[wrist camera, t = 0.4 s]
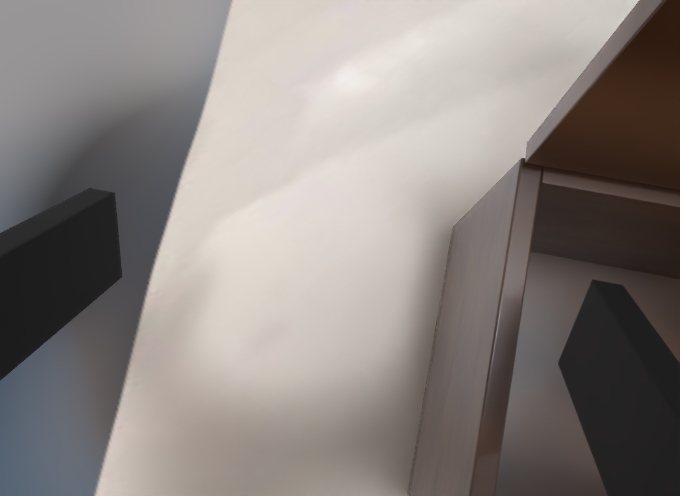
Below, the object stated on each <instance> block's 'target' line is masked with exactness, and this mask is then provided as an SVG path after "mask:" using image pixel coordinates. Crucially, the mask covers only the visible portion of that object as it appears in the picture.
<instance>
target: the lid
mask: <svg viewBox="0 0 680 496" xmlns="http://www.w3.org/2000/svg"><path fill="white" fill-rule="evenodd" d="M525 162H526V163H530V164H535V165H541V166H547V167H553V168H558V169H564V170H570V171H576V172H582V173H587V174H593V175H599V176H605V177H610V178H616V179H622V180H628V181H633V182H639V183H645V184H651V185H657V186H662V187H668V188H674V189H680V0H639V2H638V3H637V4H636V5H635V7H634V8H633V9H632V10H631V12H630V13H629V14H628V16H627V17H626V18H625V19H624V21H623V22H622V23H621V24H620V26H619V27H618V28H617V29H616V31H615V32H614V33H613V35H612V36H611V37H610V38H609V40H608V41H607V42H606V43H605V45H604V46H603V47H602V48H601V50H600V51H599V52H598V54H597V55H596V56H595V57H594V59H593V60H592V61H591V62H590V64H589V65H588V66H587V67H586V69H585V70H584V71H583V73H582V74H581V75H580V76H579V78H578V79H577V80H576V81H575V83H574V84H573V85H572V86H571V88H570V89H569V90H568V92H567V93H566V94H565V95H564V97H563V98H562V99H561V100H560V102H559V103H558V104H557V105H556V107H555V108H554V109H553V111H552V112H551V113H550V114H549V116H548V117H547V118H546V119H545V121H544V122H543V123H542V124H541V126H540V127H539V128H538V130H537V131H536V132H535V133H534V135H533V136H532V137H531V138H530V140H529V141H528V142H527V150H526V158H525Z"/></svg>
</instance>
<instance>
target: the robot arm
mask: <svg viewBox="0 0 680 496" xmlns="http://www.w3.org/2000/svg"><path fill="white" fill-rule="evenodd" d="M121 277H122V269H121V257H120V246H119V235H118V223H117V213H116V202H115V193H113V192H108V191H103V190H97V189H92V188H89V189H87V190H85V191H83V192H81V193H79V194H77V195H75V196H73V197H71V198H69V199H67V200H65V201H63V202H61V203H59V204H57V205H55V206H53V207H51V208H50V209H47V210H45V211H43V212H41V213H39V214H37V215H35V216H33V217H31V218H29V219H27V220H25V221H24V222H21V223H19V224H18V225H16V226H13V227H11V228H9V229H8V230H6V231H4V232H2V233H0V380H1V379H2V378H4V377H5V376H6V375H7V374H8V373H10V372H11V371H12V370H13V369H14V368H15V367H17V366H18V365H19V364H20V363H21V362H23V361H24V360H25V359H26V358H27V357H28V356H30V355H31V354H32V353H33V352H34V351H36V350H37V349H38V348H39V347H40V346H41V345H42V344H43V343H45V342H46V341H47V340H48V339H49V338H51V337H52V336H53V335H54V334H56V333H57V332H58V331H59V330H60V329H61V328H63V327H64V326H65V325H66V324H67V323H68V322H70V321H71V320H72V319H73V318H74V317H76V316H77V315H78V314H79V313H80V312H81V311H83V310H84V309H85V308H86V307H87V306H89V304H91V303H92V302H93V301H94V300H95V299H97V298H98V297H99V296H100V295H101V294H103V293H104V292H105V291H106V290H107V289H109V288H110V287H111V286H112V285H113V284H114V283H115V282H117V281H118V280H119V279H120V278H121ZM558 365H559V368H560V370H561V373H562V376H563V378H564V381H565V384H566V386H567V389H568V391H569V394H570V397H571V399H572V402H573V405H574V407H575V410H576V413H577V415H578V418H579V421H580V423H581V426H582V429H583V431H584V434H585V437H586V439H587V442H588V445H589V447H590V450H591V453H592V455H593V458H594V461H595V463H596V466H597V469H598V471H599V474H600V477H601V479H602V482H603V485H604V487H605V490H606V492H607V495H608V496H680V363H679V361H678V360H677V358H676V357H675V356H674V354H673V353H672V352H671V350H670V349H669V347H668V346H667V345H666V343H665V342H664V341H663V339H662V338H661V336H660V335H659V334H658V332H657V331H656V330H655V328H654V327H653V326H652V324H651V323H650V321H649V320H648V319H647V317H646V316H645V315H644V313H643V312H642V310H641V309H640V308H639V306H638V305H637V304H636V302H635V301H634V299H633V298H632V297H631V295H630V294H629V293H628V291H627V290H626V288H625V287H624V286H623V285H620V284H615V283H609V282H604V281H598V280H593V279H592V281H591V284H590V286H589V289H588V291H587V293H586V296H585V298H584V301H583V303H582V306H581V308H580V310H579V313H578V315H577V318H576V320H575V323H574V325H573V328H572V330H571V332H570V335H569V337H568V340H567V342H566V345H565V347H564V349H563V352H562V354H561V357H560V359H559V362H558Z"/></svg>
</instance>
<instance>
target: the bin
mask: <svg viewBox="0 0 680 496" xmlns="http://www.w3.org/2000/svg"><path fill="white" fill-rule="evenodd" d="M592 279H593V280H598V281H604V282H609V283H615V284H620V285H623V286H624V287H625V288H626V290H627V291H628V293H629V294H630V295H631V297H632V298H633V299H634V301H635V302H636V304H637V305H638V306H639V308H640V309H641V310H642V312H643V313H644V315H645V316H646V317H647V319H648V320H649V321H650V323H651V324H652V326H653V327H654V328H655V330H656V331H657V332H658V334H659V335H660V336H661V338H662V339H663V341H664V342H665V343H666V345H667V346H668V347H669V349H670V350H671V352H672V353H673V354H674V356H675V357H676V358H677V360H678V361H679V363H680V189H674V188H668V187H662V186H657V185H651V184H645V183H639V182H633V181H628V180H622V179H616V178H610V177H605V176H599V175H593V174H587V173H582V172H576V171H570V170H564V169H558V168H553V167H547V166H541V165H535V164H530V163H526V162H525V158H521V159H520V160H519V161H518V162H517V163H516V164H515V165H514V166H513V167H512V168H511V169H510V170H509V171H508V172H507V173H506V174H505V175H504V176H503V177H502V178H501V179H500V180H499V181H498V182H497V183H496V184H495V185H494V186H493V187H492V188H491V189H490V190H489V191H488V193H487V194H486V195H485V196H484V197H483V198H482V199H481V200H480V201H479V202H478V203H477V204H476V205H475V206H474V207H473V208H472V209H471V210H470V211H469V212H468V213H467V214H466V215H465V216H464V217H463V218H462V219H461V220H460V221H459V222H458V223H457V224H456V225H455V226H454V227H453V231H452V236H451V242H450V248H449V254H448V260H447V266H446V272H445V278H444V283H443V289H442V295H441V301H440V307H439V313H438V319H437V325H436V330H435V336H434V342H433V348H432V354H431V360H430V366H429V372H428V377H427V383H426V389H425V395H424V401H423V407H422V413H421V419H420V424H419V430H418V436H417V442H416V448H415V454H414V460H413V466H412V471H411V477H410V483H409V489H408V495H409V496H608V495H607V492H606V490H605V487H604V485H603V482H602V479H601V477H600V474H599V471H598V469H597V466H596V463H595V461H594V458H593V455H592V453H591V450H590V447H589V445H588V442H587V439H586V437H585V434H584V431H583V429H582V426H581V423H580V421H579V418H578V415H577V413H576V410H575V407H574V405H573V402H572V399H571V397H570V394H569V391H568V389H567V386H566V384H565V381H564V378H563V376H562V373H561V370H560V368H559V365H558V362H559V359H560V357H561V354H562V352H563V349H564V347H565V345H566V342H567V340H568V337H569V335H570V332H571V330H572V328H573V325H574V323H575V320H576V318H577V315H578V313H579V310H580V308H581V306H582V303H583V301H584V298H585V296H586V293H587V291H588V289H589V286H590V284H591V281H592Z"/></svg>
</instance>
